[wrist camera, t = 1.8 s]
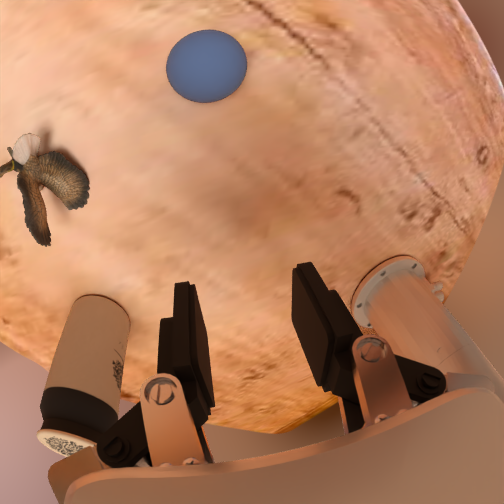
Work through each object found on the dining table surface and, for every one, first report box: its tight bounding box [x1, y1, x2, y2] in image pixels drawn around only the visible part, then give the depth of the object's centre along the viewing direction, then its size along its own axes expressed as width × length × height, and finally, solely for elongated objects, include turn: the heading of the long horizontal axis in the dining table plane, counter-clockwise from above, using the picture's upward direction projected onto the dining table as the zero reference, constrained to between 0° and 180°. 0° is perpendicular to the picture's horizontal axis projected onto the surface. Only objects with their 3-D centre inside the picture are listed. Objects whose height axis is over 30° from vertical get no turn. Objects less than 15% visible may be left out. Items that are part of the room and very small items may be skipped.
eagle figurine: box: [0, 133, 90, 247], centre depth 20 cm, size 8×7×9 cm
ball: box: [166, 30, 247, 103], centre depth 18 cm, size 6×6×6 cm
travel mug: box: [37, 296, 130, 457], centre depth 25 cm, size 8×8×18 cm
